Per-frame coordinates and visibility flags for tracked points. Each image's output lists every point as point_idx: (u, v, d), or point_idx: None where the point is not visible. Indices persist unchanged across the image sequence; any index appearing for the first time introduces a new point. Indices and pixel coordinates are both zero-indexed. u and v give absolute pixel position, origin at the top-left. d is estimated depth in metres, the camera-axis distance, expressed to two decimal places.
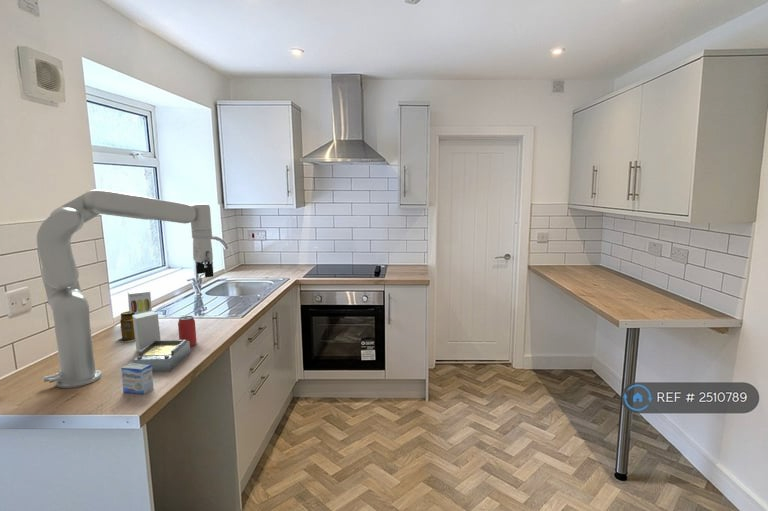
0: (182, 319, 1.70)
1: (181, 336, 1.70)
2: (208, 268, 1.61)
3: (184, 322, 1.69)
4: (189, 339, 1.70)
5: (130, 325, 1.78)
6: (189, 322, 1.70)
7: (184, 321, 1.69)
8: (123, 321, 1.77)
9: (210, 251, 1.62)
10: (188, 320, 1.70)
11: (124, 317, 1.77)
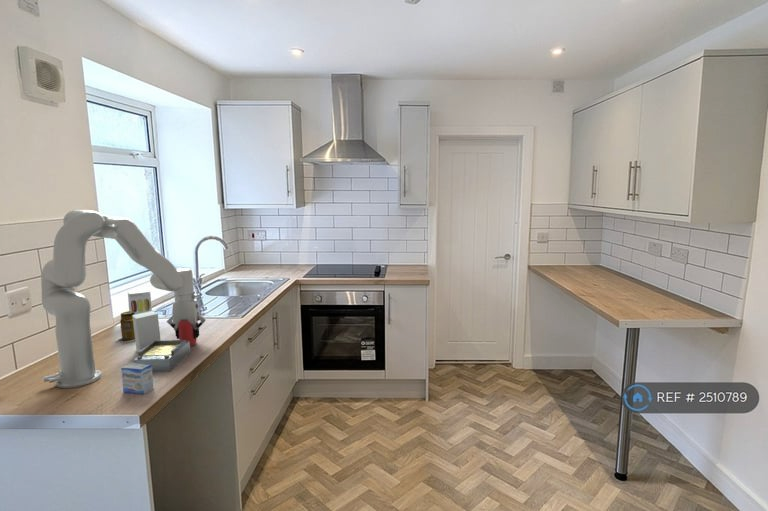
0: None
1: (181, 336, 1.70)
2: None
3: (184, 322, 1.69)
4: (189, 339, 1.70)
5: (130, 325, 1.78)
6: (189, 322, 1.70)
7: (184, 321, 1.69)
8: (123, 321, 1.77)
9: None
10: None
11: (124, 317, 1.77)
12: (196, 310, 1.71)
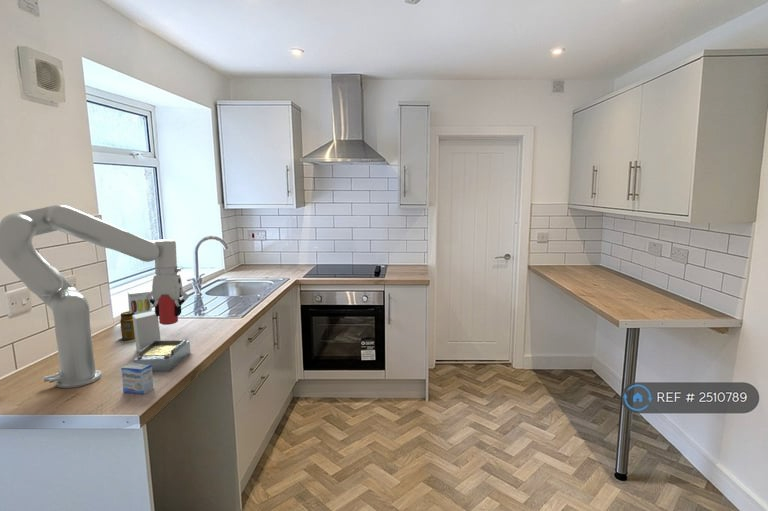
0: None
1: (161, 313, 1.56)
2: None
3: (165, 298, 1.55)
4: (170, 317, 1.56)
5: (130, 325, 1.78)
6: None
7: (165, 297, 1.55)
8: (123, 321, 1.77)
9: None
10: None
11: (124, 317, 1.77)
12: (179, 285, 1.57)
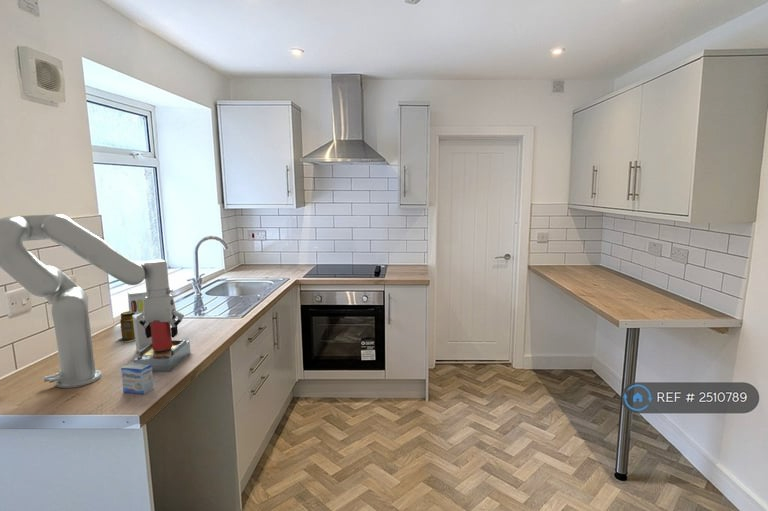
0: None
1: (154, 339, 1.51)
2: None
3: (157, 324, 1.50)
4: (163, 343, 1.51)
5: (130, 325, 1.78)
6: (163, 323, 1.51)
7: (156, 323, 1.50)
8: (123, 321, 1.77)
9: None
10: None
11: (124, 317, 1.77)
12: (171, 307, 1.51)
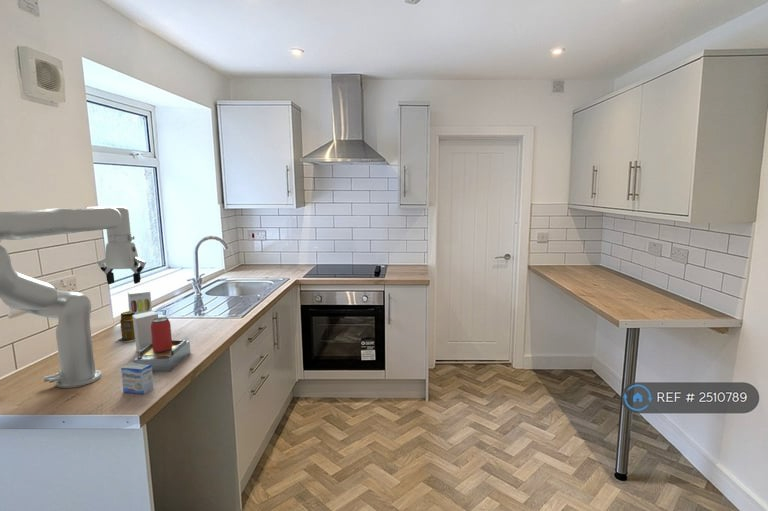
0: (155, 321, 1.51)
1: (154, 340, 1.51)
2: None
3: (158, 325, 1.50)
4: (163, 344, 1.51)
5: (130, 325, 1.78)
6: (163, 324, 1.51)
7: (157, 324, 1.50)
8: (123, 321, 1.77)
9: None
10: (162, 322, 1.51)
11: (124, 317, 1.77)
12: (133, 253, 1.53)
